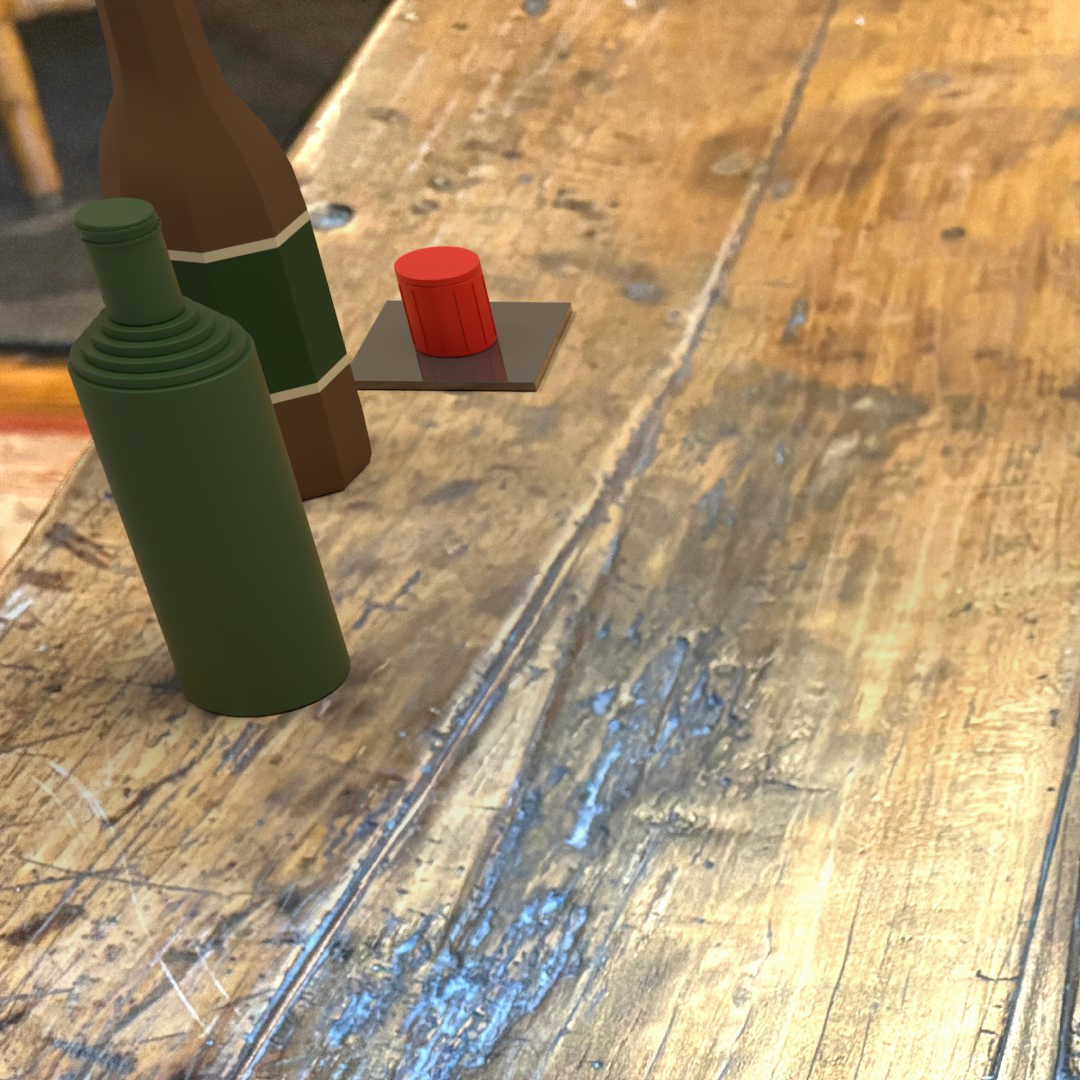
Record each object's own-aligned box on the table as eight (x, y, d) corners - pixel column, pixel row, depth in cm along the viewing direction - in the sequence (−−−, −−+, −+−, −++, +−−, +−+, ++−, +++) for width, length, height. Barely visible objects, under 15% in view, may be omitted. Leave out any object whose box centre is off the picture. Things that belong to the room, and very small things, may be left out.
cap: (493, 319, 123) (475, 241, 121) (501, 352, 121) (483, 274, 118) (410, 328, 123) (390, 250, 120) (416, 362, 120) (396, 283, 117)
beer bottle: (291, 413, 117) (116, -180, 100) (414, 457, 114) (255, -144, 97) (155, 479, 112) (-54, -132, 95) (279, 526, 110) (87, -93, 92)
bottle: (161, 717, 99) (-12, 247, 86) (208, 633, 103) (49, 174, 90) (328, 717, 99) (181, 249, 86) (367, 633, 104) (232, 176, 91)
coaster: (342, 389, 119) (340, 380, 118) (388, 308, 125) (386, 300, 125) (536, 391, 119) (534, 382, 119) (572, 310, 125) (571, 302, 125)
